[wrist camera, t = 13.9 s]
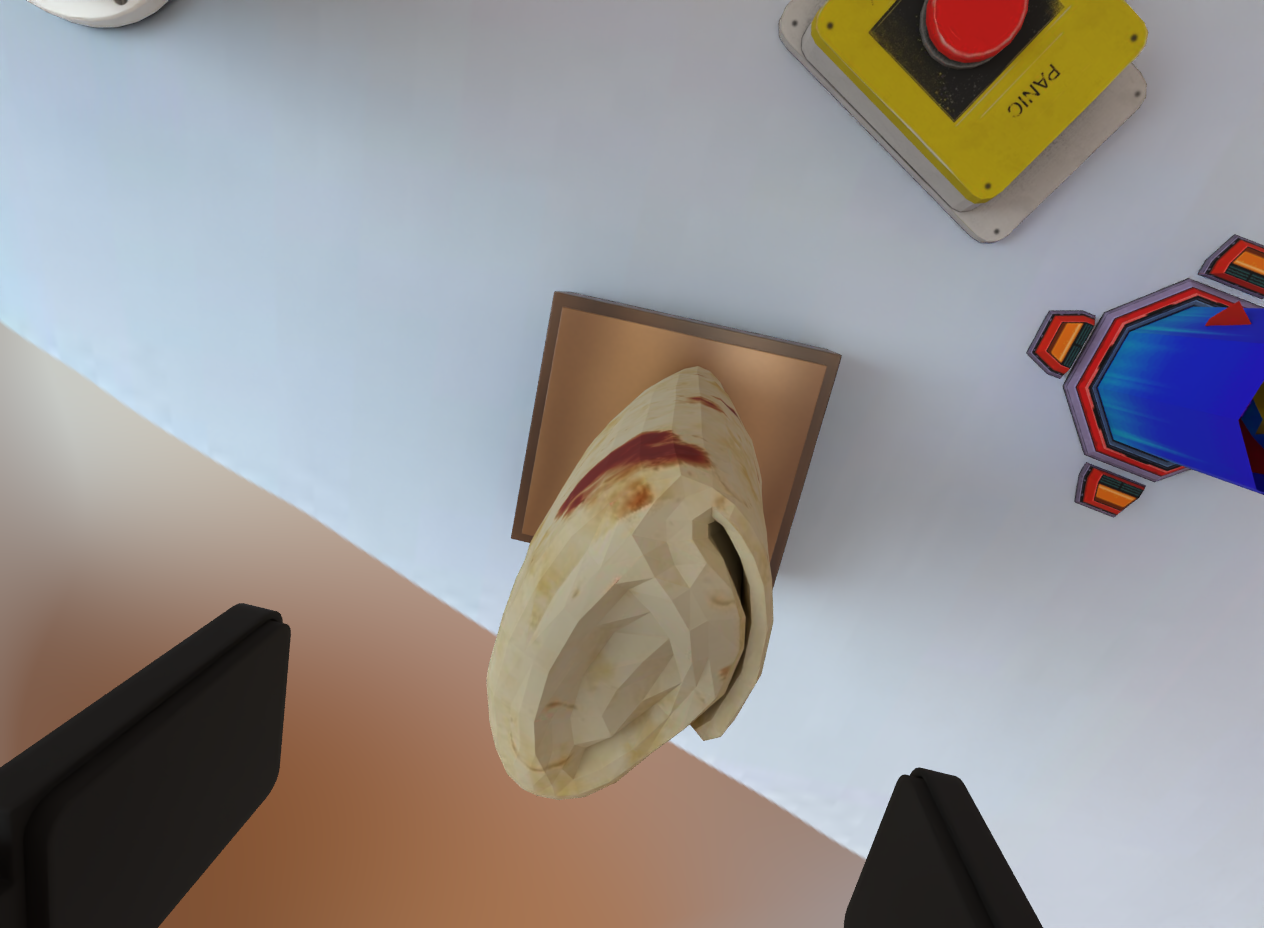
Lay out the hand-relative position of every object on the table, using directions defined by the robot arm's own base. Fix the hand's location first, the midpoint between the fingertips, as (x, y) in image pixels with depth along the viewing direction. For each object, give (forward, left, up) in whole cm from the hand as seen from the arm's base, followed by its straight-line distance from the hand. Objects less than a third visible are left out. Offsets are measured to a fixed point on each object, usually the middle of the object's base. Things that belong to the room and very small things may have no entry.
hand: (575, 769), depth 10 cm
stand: (0, -1, -28) cm, 28 cm away
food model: (0, -1, -24) cm, 24 cm away
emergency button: (+9, +20, -28) cm, 35 cm away
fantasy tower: (+24, +8, -28) cm, 38 cm away
